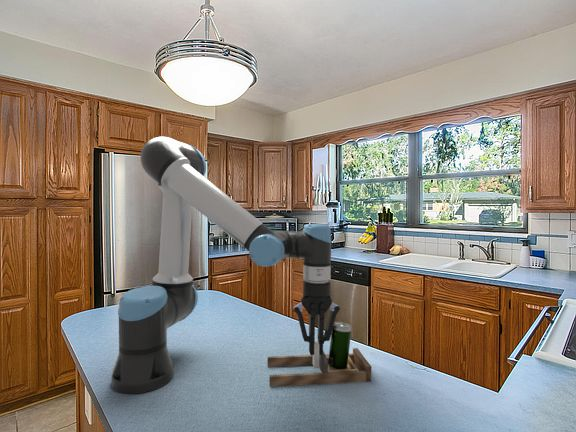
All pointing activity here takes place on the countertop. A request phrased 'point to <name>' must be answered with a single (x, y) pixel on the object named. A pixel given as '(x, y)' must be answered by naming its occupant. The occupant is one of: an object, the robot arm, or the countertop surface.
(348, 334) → the beer can
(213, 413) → the countertop surface
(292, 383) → the tray
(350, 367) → the wooden square tray
